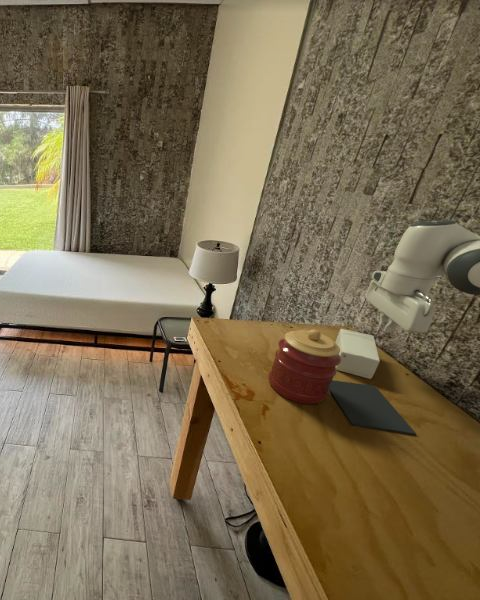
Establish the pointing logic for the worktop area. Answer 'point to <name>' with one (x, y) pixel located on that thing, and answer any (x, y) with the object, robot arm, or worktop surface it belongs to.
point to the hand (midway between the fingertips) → (384, 330)
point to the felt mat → (368, 407)
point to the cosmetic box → (357, 353)
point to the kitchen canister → (304, 366)
